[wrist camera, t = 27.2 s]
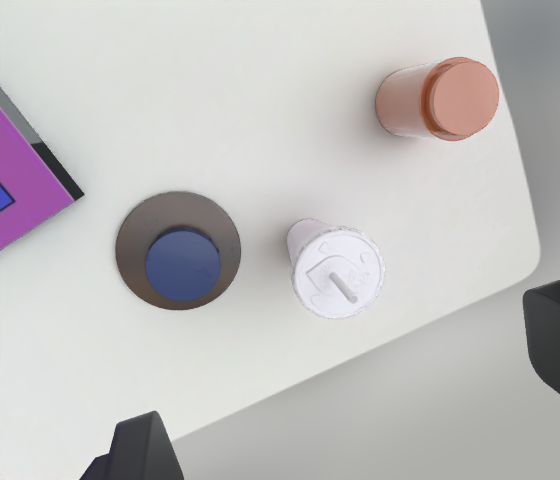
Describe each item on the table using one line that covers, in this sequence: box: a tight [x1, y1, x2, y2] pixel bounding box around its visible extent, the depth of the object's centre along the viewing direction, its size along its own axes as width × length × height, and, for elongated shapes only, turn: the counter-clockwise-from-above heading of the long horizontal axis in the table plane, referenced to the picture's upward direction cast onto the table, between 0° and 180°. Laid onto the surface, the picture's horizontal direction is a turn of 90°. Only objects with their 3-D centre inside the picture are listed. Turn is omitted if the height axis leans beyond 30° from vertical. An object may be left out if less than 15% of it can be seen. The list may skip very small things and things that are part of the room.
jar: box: [376, 57, 499, 141], centre depth 35 cm, size 5×5×9 cm
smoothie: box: [287, 219, 385, 319], centre depth 34 cm, size 6×6×14 cm
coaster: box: [116, 191, 241, 310], centre depth 39 cm, size 10×10×1 cm
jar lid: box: [145, 226, 221, 301], centre depth 38 cm, size 6×6×2 cm
